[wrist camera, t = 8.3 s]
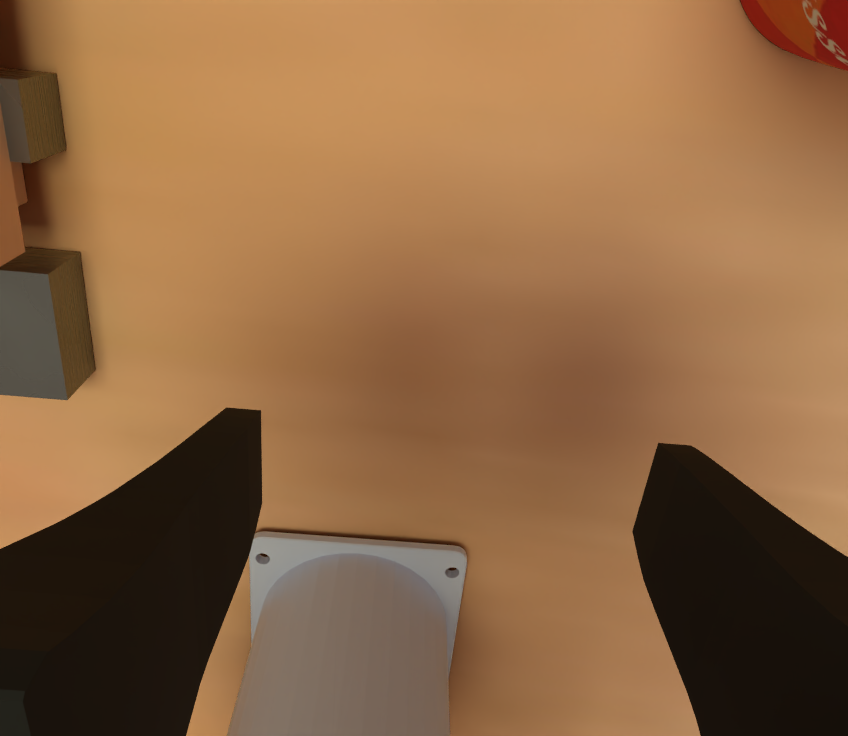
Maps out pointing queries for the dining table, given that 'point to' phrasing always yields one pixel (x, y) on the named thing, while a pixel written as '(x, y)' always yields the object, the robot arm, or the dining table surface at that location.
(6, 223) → the tan rectangular block
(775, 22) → the paper cup
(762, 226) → the dining table surface
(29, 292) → the set of grey blocks
